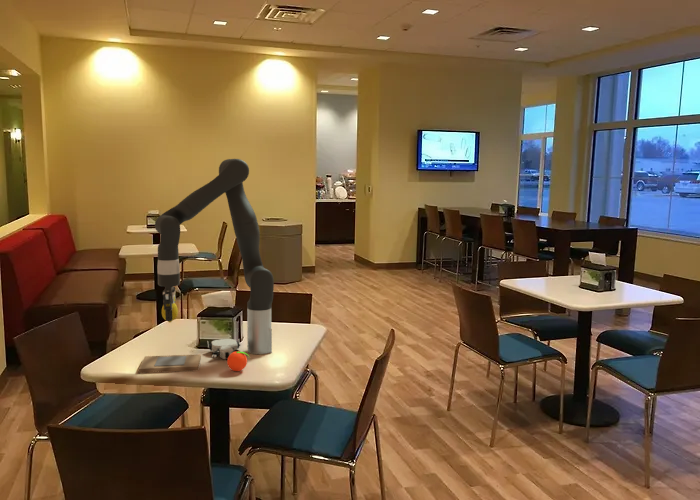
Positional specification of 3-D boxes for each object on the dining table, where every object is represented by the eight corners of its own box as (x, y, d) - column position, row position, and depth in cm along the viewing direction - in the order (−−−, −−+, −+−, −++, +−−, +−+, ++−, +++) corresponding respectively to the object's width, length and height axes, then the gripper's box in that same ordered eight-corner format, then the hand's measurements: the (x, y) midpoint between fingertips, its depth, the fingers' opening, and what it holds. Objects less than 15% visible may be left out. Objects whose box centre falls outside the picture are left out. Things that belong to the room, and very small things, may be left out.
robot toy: (244, 362, 222) (238, 347, 236) (244, 350, 222) (238, 336, 236) (210, 364, 219) (207, 349, 233) (210, 353, 218) (207, 339, 232)
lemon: (173, 325, 209) (172, 302, 208) (159, 323, 210) (158, 301, 209) (180, 321, 214) (180, 299, 213) (166, 320, 216) (166, 298, 214)
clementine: (251, 367, 213) (251, 348, 212) (248, 374, 206) (248, 354, 206) (229, 367, 213) (229, 348, 212) (225, 373, 206) (225, 354, 205)
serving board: (200, 358, 223) (200, 353, 223) (198, 370, 209) (198, 365, 209) (144, 360, 219) (144, 355, 219) (138, 373, 205) (138, 368, 205)
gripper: (177, 275, 203) (178, 323, 206) (181, 268, 217) (182, 313, 220) (154, 275, 202) (156, 324, 204) (160, 268, 216) (161, 314, 218)
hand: (170, 318), depth 212 cm, fingers closed on lemon, 5 cm apart
